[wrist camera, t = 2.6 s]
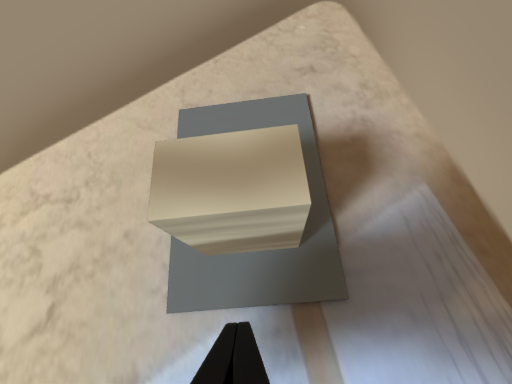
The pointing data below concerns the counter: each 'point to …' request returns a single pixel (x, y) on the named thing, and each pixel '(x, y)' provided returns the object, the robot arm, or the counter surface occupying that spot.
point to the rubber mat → (268, 261)
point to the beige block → (231, 190)
